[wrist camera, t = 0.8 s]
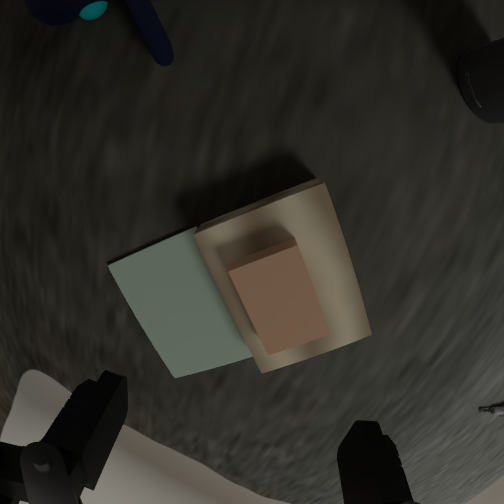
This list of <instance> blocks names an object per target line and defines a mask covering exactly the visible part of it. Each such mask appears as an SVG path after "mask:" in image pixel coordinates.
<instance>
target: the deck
mask: <svg viewBox="0 0 504 504" xmlns="http://www.w3.org/2000/svg"><path fill="white" fill-rule="evenodd" d="M193 236H194V238H195V240H196V242H197V244H198V246H199V249H200V251H201V253H202V255H203V257H204V259H205V261H206V263H207V265H208V268H209V270H210V272H211V274H212V276H213V278H214V280H215V282H216V284H217V286H218V288H219V290H220V292H221V294H222V296H223V298H224V300H225V302H226V304H227V306H228V308H229V310H230V312H231V314H232V316H233V318H234V320H235V322H236V324H237V326H238V328H239V330H240V332H241V334H242V336H243V338H244V340H245V342H246V344H247V346H248V348H249V350H250V352H251V354H252V356H253V358H254V359H255V361H256V363H257V365H258V367H259V369H260V371H261V373H265V372H268V371H271V370H274V369H278V368H281V367H284V366H287V365H290V364H293V363H296V362H299V361H302V360H305V359H308V358H311V357H314V356H317V355H320V354H322V353H325V352H328V351H331V350H333V349H336V348H339V347H341V346H344V345H347V344H349V343H352V342H354V341H357V340H360V339H362V338H365V337H367V336H370V335H372V334H371V330H370V326H369V322H368V318H367V315H366V311H365V307H364V304H363V300H362V296H361V293H360V289H359V286H358V282H357V279H356V276H355V272H354V269H353V266H352V262H351V259H350V256H349V253H348V250H347V246H346V243H345V240H344V237H343V234H342V231H341V228H340V225H339V222H338V219H337V216H336V213H335V210H334V207H333V204H332V202H331V199H330V196H329V193H328V190H327V188H326V185H325V183H324V182H323V181H321V180H319V179H317V178H316V179H313V180H311V181H308V182H305V183H303V184H300V185H297V186H295V187H292V188H290V189H287V190H284V191H282V192H279V193H277V194H274V195H272V196H269V197H266V198H264V199H261V200H259V201H256V202H254V203H251V204H249V205H246V206H244V207H241V208H239V209H237V210H234V211H232V212H229V213H227V214H224V215H222V216H219V217H217V218H215V219H212V220H210V221H207V222H205V223H203V224H201V225H200V226H199V228H198V229H197V230H196V232H195V233H194V234H193ZM292 238H295V239H296V241H297V244H298V247H299V249H300V252H301V255H302V257H303V260H304V263H305V265H306V268H307V271H308V273H309V276H310V279H311V281H312V284H313V287H314V290H315V292H316V295H317V298H318V301H319V304H320V306H321V309H322V312H323V315H324V318H325V320H326V323H327V326H328V329H329V332H330V334H329V335H326V336H324V337H321V338H318V339H315V340H313V341H310V342H307V343H304V344H301V345H298V346H295V347H293V348H290V349H287V350H284V351H281V352H278V353H274V354H271V355H268V354H267V352H266V350H265V348H264V346H263V344H262V342H261V340H260V338H259V336H258V334H257V331H256V329H255V327H254V325H253V323H252V321H251V319H250V317H249V315H248V313H247V311H246V309H245V306H244V304H243V302H242V300H241V298H240V296H239V294H238V292H237V290H236V287H235V285H234V283H233V281H232V279H231V277H230V275H229V272H228V270H229V266H230V262H232V261H235V260H238V259H240V258H243V257H245V256H248V255H251V254H253V253H256V252H259V251H261V250H264V249H266V248H269V247H272V246H274V245H277V244H279V243H282V242H285V241H287V240H290V239H292Z"/></svg>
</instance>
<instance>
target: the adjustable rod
mask: <svg viewBox="0 0 504 504" xmlns="http://www.w3.org/2000/svg"><path fill="white" fill-rule="evenodd" d="M482 411H483V412H491V414H495V415H499V416H501V417H504V405H503V406H501V407H491V410H487V409H483V408H480V410H479V412H480V413H482Z"/></svg>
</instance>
